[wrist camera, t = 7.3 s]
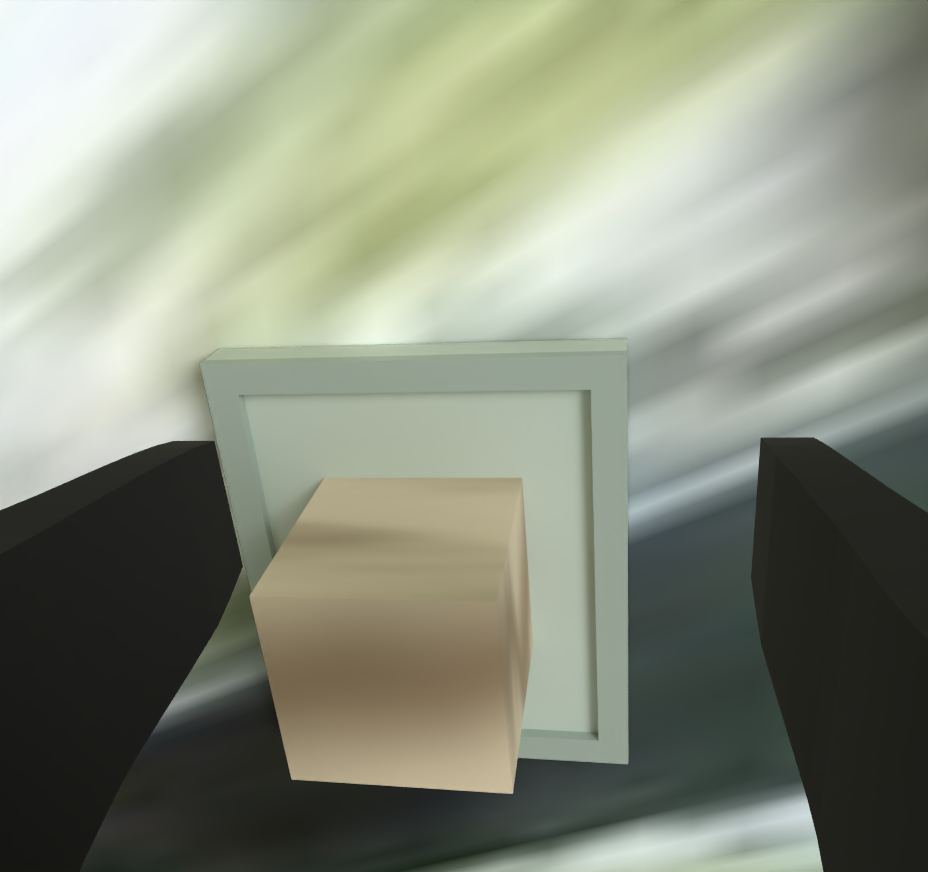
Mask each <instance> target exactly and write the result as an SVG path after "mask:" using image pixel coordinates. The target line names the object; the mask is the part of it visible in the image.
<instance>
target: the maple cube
mask: <svg viewBox="0 0 928 872" xmlns="http://www.w3.org/2000/svg"><path fill="white" fill-rule="evenodd" d="M249 597H250V601H251V605H252V610H253V614H254V618H255V623H256V627H257V631H258V636H259V640H260V644H261V649H262V653H263V657H264V662H265V666H266V670H267V675H268V679H269V683H270V688H271V692H272V696H273V701H274V705H275V709H276V714H277V718H278V722H279V727H280V731H281V735H282V740H283V744H284V748H285V753H286V757H287V761H288V766H289V770H290V774H291V779H293V780H309V781H324V782H339V783H355V784H370V785H386V786H401V787H416V788H432V789H447V790H462V791H478V792H493V793H509V794H513V788H514V780H515V773H516V766H517V758H518V751H519V743H520V736H521V728H522V721H523V714H524V706H525V699H526V691H527V684H528V677H529V669H530V662H531V654H532V647H533V637H532V621H531V606H530V590H529V575H528V559H527V544H526V528H525V513H524V498H523V482H522V478H324V479H323V481H322V482H321V484H320V485H319V487H318V489H317V490H316V492H315V493H314V495H313V497H312V498H311V500H310V501H309V503H308V504H307V506H306V508H305V509H304V511H303V512H302V514H301V515H300V517H299V519H298V520H297V522H296V523H295V525H294V527H293V528H292V530H291V531H290V533H289V534H288V536H287V538H286V539H285V541H284V542H283V544H282V545H281V547H280V549H279V550H278V552H277V553H276V555H275V556H274V558H273V560H272V561H271V563H270V564H269V566H268V568H267V569H266V571H265V572H264V574H263V575H262V577H261V579H260V580H259V582H258V583H257V585H256V586H255V588H254V590H253V591H252V593H251V594H250V596H249Z"/></svg>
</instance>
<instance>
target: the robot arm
mask: <svg viewBox="0 0 928 872" xmlns="http://www.w3.org/2000/svg"><path fill="white" fill-rule="evenodd" d="M242 567H243V565H242V561H241V556H240V552H239V548H238V543H237V539H236V534H235V530H234V526H233V521H232V517H231V512H230V508H229V504H228V499H227V495H226V490H225V486H224V482H223V477H222V473H221V468H220V464H219V460H218V455H217V451H216V446H215V442H214V441H172V442H168V443H165V444H161V445H157V446H154V447H151V448H148V449H145V450H143V451H140V452H137V453H135V454H132V455H130V456H127V457H125V458H122V459H120V460H117V461H115V462H113V463H110V464H108V465H106V466H103V467H101V468H99V469H96V470H94V471H92V472H89V473H87V474H85V475H82V476H80V477H78V478H76V479H73V480H71V481H69V482H67V483H64V484H62V485H60V486H57V487H55V488H53V489H51V490H48V491H46V492H44V493H41V494H39V495H37V496H34V497H32V498H30V499H27V500H25V501H22V502H20V503H17V504H15V505H12V506H10V507H8V508H5V509H3V510H0V872H79V871H80V869H81V866H82V864H83V862H84V860H85V857H86V855H87V853H88V851H89V849H90V847H91V845H92V843H93V841H94V839H95V836H96V834H97V832H98V830H99V828H100V826H101V824H102V822H103V820H104V818H105V816H106V814H107V812H108V810H109V808H110V805H111V803H112V801H113V799H114V797H115V795H116V793H117V791H118V789H119V787H120V785H121V783H122V782H123V780H124V778H125V776H126V775H127V773H128V771H129V769H130V768H131V766H132V764H133V762H134V761H135V759H136V757H137V755H138V754H139V752H140V751H141V749H142V747H143V746H144V744H145V743H146V741H147V739H148V738H149V736H150V735H151V733H152V731H153V730H154V728H155V727H156V725H157V723H158V722H159V720H160V719H161V717H162V715H163V714H164V712H165V711H166V709H167V707H168V706H169V704H170V703H171V701H172V700H173V698H174V696H175V695H176V693H177V692H178V690H179V688H180V687H181V685H182V684H183V682H184V680H185V679H186V677H187V676H188V674H189V672H190V671H191V669H192V668H193V666H194V664H195V663H196V661H197V659H198V658H199V656H200V654H201V653H202V651H203V650H204V648H205V646H206V645H207V643H208V641H209V640H210V638H211V636H212V635H213V633H214V631H215V629H216V628H217V626H218V624H219V622H220V620H221V617H222V615H223V613H224V611H225V608H226V606H227V604H228V602H229V600H230V597H231V595H232V592H233V590H234V587H235V584H236V582H237V579H238V577H239V574H240V572H241V569H242ZM751 580H752V587H753V594H754V601H755V608H756V615H757V621H758V627H759V633H760V640H761V645H762V649H763V652H764V656H765V659H766V663H767V666H768V669H769V673H770V676H771V680H772V683H773V686H774V690H775V693H776V696H777V700H778V703H779V706H780V710H781V713H782V716H783V720H784V723H785V726H786V730H787V733H788V736H789V739H790V743H791V746H792V749H793V753H794V756H795V759H796V763H797V766H798V769H799V773H800V776H801V779H802V783H803V786H804V789H805V792H806V796H807V799H808V803H809V807H810V811H811V815H812V819H813V823H814V827H815V831H816V835H817V839H818V845H819V850H820V855H821V861H822V866H823V871H824V872H928V513H927V512H926V511H924V510H922V509H921V508H919V507H918V506H916V505H914V504H913V503H911V502H910V501H908V500H907V499H905V498H904V497H902V496H901V495H899V494H898V493H896V492H895V491H893V490H892V489H890V488H889V487H887V486H886V485H884V484H883V483H881V482H880V481H878V480H877V479H875V478H874V477H873V476H871V475H870V474H868V473H867V472H865V471H864V470H862V469H861V468H860V467H858V466H857V465H855V464H854V463H852V462H851V461H849V460H848V459H847V458H845V457H844V456H842V455H841V454H839V453H838V452H836V451H835V450H833V449H832V448H830V447H829V446H827V445H826V444H824V443H823V442H821V441H819V440H817V439H815V438H761V443H760V457H759V472H758V486H757V500H756V515H755V529H754V543H753V558H752V572H751Z"/></svg>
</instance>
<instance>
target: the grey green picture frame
mask: <svg viewBox="0 0 928 872" xmlns="http://www.w3.org/2000/svg"><path fill="white" fill-rule="evenodd" d="M200 368H201V372H202V377H203V381H204V386H205V390H206V395H207V399H208V404H209V408H210V412H211V417H212V421H213V426H214V430H215V435H216V439H217V443H218V448H219V452H220V457H221V461H222V466H223V470H224V474H225V479H226V483H227V488H228V492H229V497H230V501H231V506H232V510H233V514H234V519H235V523H236V528H237V532H238V537H239V541H240V545H241V550H242V554H243V559H244V563H245V568H246V572H247V577H248V581H249V585H250V590H251V593H252V591H253V590H254V588H255V586H256V585H257V583H258V582H259V580H260V579H261V577H262V575H263V574H264V572H265V571H266V569H267V568H268V566H269V564H270V563H271V561H272V560H273V558H274V556H275V555H276V553H277V552H278V550H279V549H280V547H281V545H282V544H283V542H284V541H285V539H286V538H287V536H288V534H289V533H290V531H291V530H292V528H293V527H294V525H295V523H296V522H297V520H298V519H299V517H300V515H301V514H302V512H303V511H304V509H305V508H306V506H307V504H308V503H309V501H310V500H311V498H312V497H313V495H314V493H315V492H316V490H317V489H318V487H319V485H320V484H321V482H322V481H323V479H324V478H522V482H523V498H524V513H525V528H526V544H527V559H528V575H529V590H530V606H531V621H532V637H533V647H532V654H531V662H530V669H529V677H528V684H527V691H526V699H525V706H524V714H523V721H522V728H521V736H520V743H519V751H518V758H532V759H549V760H566V761H582V762H599V763H616V764H628V464H627V338H621V339H582V340H543V341H504V342H466V343H427V344H388V345H349V346H310V347H271V348H232V349H218V350H217V351H215V352H214V353H213V354H212V355H211V356H210V357H208V358H207V359H206V360H205V361H204V362H202V363H201V364H200Z"/></svg>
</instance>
